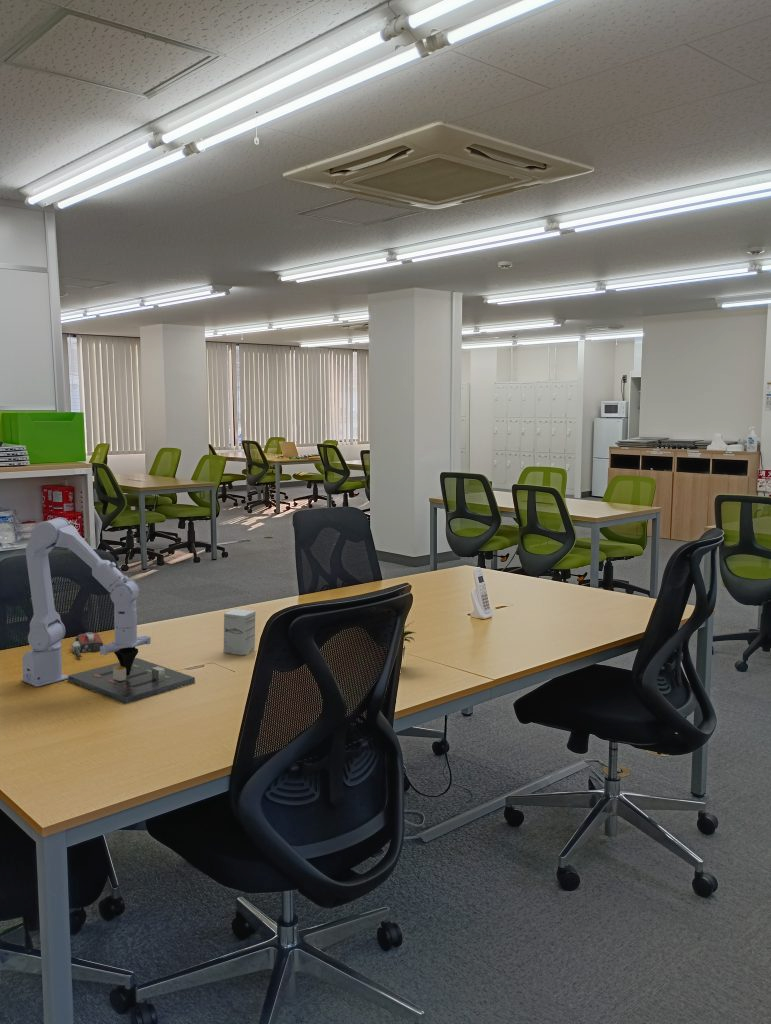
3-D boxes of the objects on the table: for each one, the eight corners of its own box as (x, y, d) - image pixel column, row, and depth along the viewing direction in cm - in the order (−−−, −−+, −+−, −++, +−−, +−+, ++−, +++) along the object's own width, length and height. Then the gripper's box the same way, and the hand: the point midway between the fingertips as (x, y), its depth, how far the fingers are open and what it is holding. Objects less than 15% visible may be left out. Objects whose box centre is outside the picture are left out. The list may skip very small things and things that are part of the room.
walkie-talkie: (69, 643, 261) (75, 661, 243) (68, 629, 260) (75, 646, 242) (98, 640, 265) (107, 658, 247) (98, 627, 264) (107, 644, 246)
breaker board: (125, 703, 209) (125, 686, 209) (68, 680, 225) (67, 664, 224) (194, 682, 226) (194, 666, 226) (137, 662, 242) (136, 647, 242)
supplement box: (222, 653, 254) (223, 613, 252) (234, 647, 261) (234, 607, 259) (244, 656, 252) (244, 615, 250) (255, 649, 259) (256, 610, 257)
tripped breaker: (119, 681, 221) (119, 669, 220) (113, 678, 223) (113, 666, 222) (126, 679, 222) (126, 667, 222) (119, 676, 224) (119, 665, 224)
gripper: (110, 633, 214) (111, 684, 216) (157, 623, 226) (157, 671, 227) (95, 628, 218) (95, 678, 220) (141, 618, 230) (141, 666, 232)
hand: (126, 674), depth 224 cm, fingers closed
